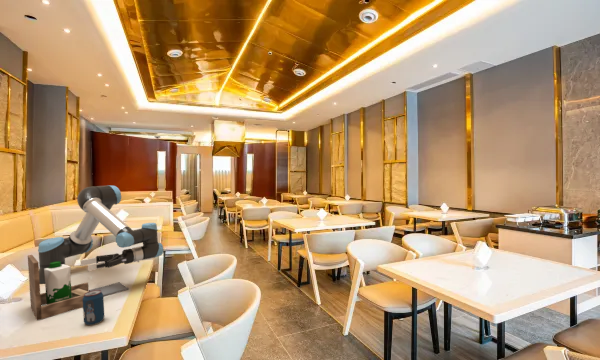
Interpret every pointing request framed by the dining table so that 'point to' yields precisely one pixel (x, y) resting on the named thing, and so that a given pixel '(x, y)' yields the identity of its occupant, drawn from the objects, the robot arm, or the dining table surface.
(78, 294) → the offcut upper
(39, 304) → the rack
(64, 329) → the dining table surface
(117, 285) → the mat
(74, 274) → the dining table surface
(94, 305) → the soda can
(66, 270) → the soya milk
